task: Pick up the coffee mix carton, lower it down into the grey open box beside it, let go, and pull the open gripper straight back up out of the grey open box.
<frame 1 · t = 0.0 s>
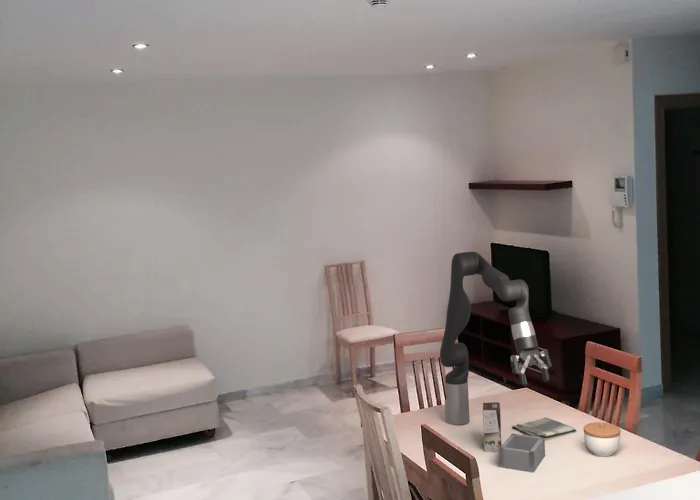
hand: (535, 383, 241), 31 cm above the table, tool tilted 20°, fingers open, 8 cm apart
lidded bowl: (602, 453, 257), on the table
grey open box: (522, 461, 253), on the table
coffee box: (493, 447, 268), on the table
dish towel: (543, 432, 281), on the table
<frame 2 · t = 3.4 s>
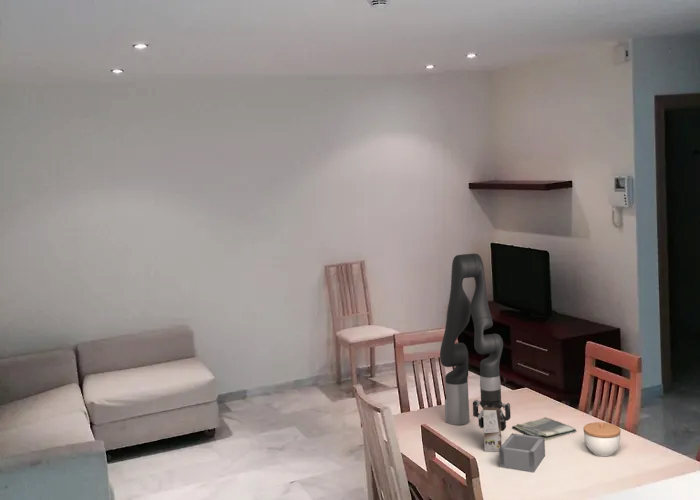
hand: (492, 429, 267), 7 cm above the table, tool pointing down, fingers closed on coffee box, 7 cm apart
coffee box: (493, 447, 268), on the table, touching gripper
everything else where it was.
when the fingers open (9 cm above the table, at t = 10.6 s): coffee box drops 1 cm, resting on grey open box.
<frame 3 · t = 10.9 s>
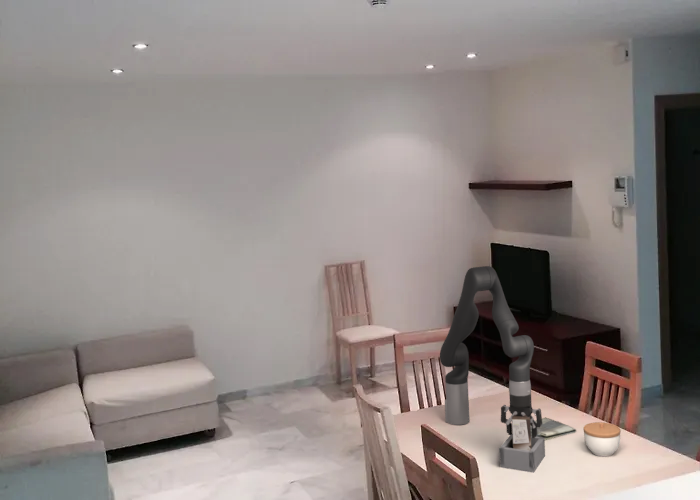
hand: (521, 435, 252), 10 cm above the table, tool pointing down, fingers open, 8 cm apart
coffee box: (522, 459, 253), point 1 cm above the table, touching grey open box
everything else where it was.
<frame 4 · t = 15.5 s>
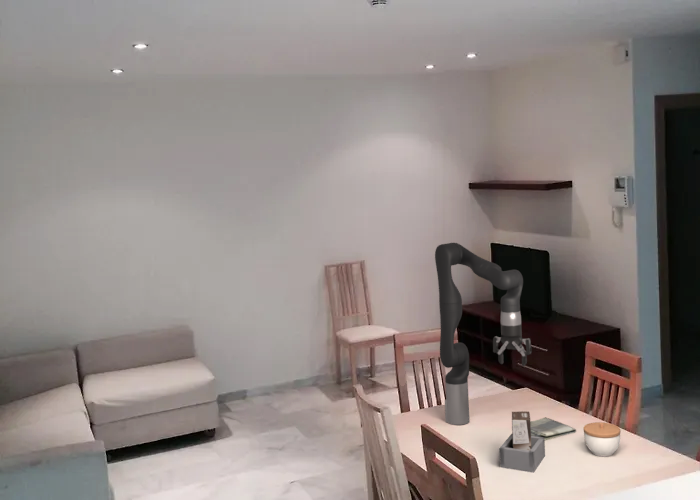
hand: (512, 364, 269), 30 cm above the table, tool pointing down, fingers open, 8 cm apart
nothing on the table moved.
at the end: coffee box 0.1 cm off-centre on the grey open box, point 0.8 cm above the grey open box's base; coffee box tilted 0°; the gripper is holding nothing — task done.
